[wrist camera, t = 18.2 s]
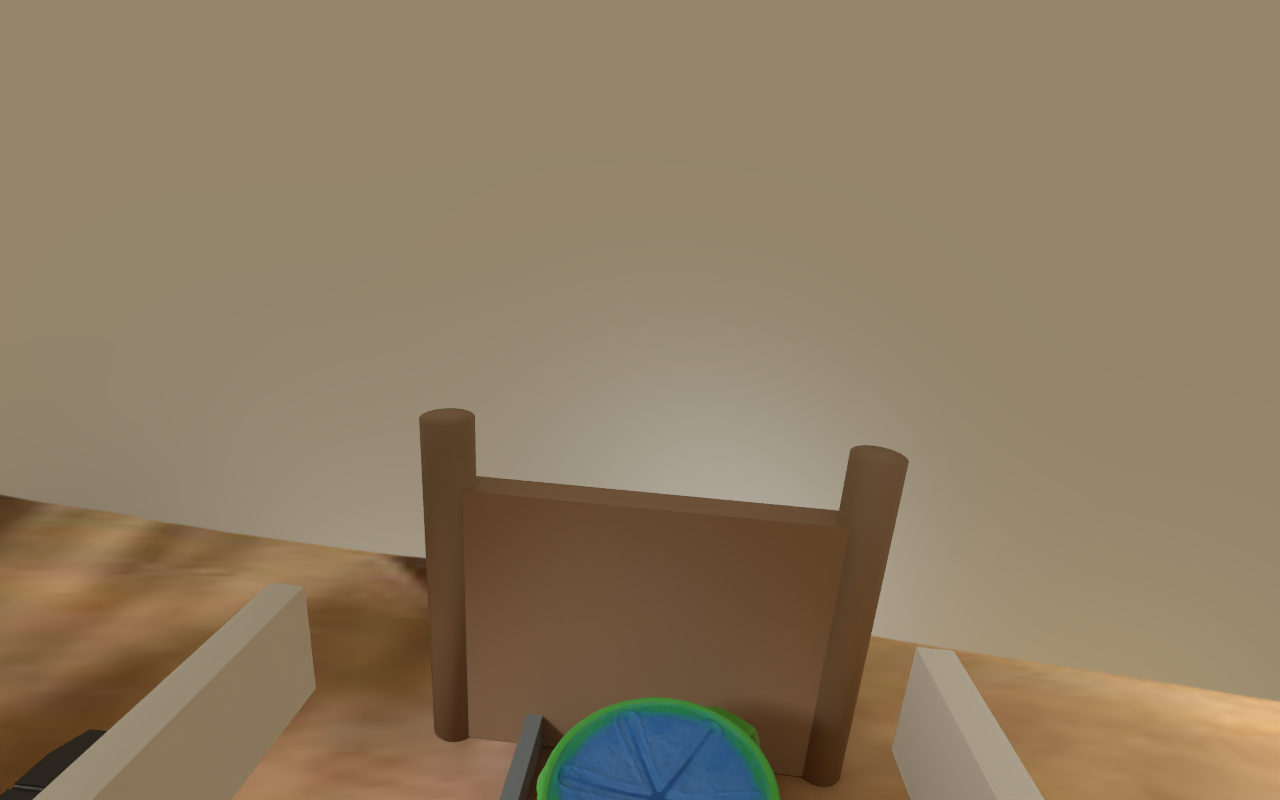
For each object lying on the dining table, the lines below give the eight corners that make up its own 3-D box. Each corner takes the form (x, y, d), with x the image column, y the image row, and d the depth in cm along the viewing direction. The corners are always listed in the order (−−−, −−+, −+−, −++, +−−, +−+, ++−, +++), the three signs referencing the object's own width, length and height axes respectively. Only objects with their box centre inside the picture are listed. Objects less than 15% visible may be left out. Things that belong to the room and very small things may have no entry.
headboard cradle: (243, 1112, 24) (135, 641, 17) (444, 703, 43) (431, 406, 37) (958, 1224, 22) (1155, 757, 16) (834, 749, 42) (898, 448, 35)
